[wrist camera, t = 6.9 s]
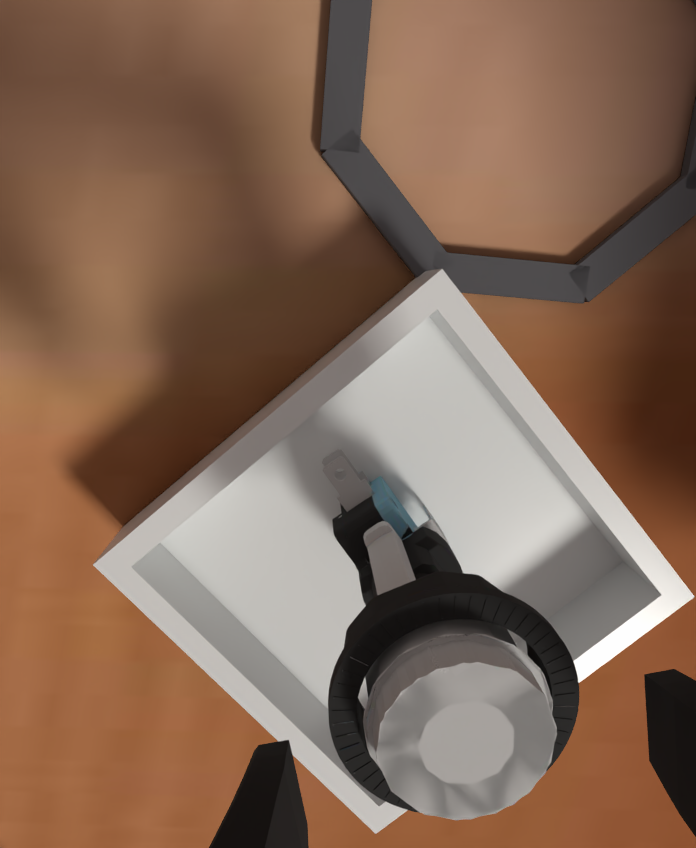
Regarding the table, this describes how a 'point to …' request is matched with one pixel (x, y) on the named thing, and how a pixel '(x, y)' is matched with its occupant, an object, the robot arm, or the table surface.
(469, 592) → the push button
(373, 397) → the tray
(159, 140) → the table surface
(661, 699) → the robot arm
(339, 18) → the seat ring
